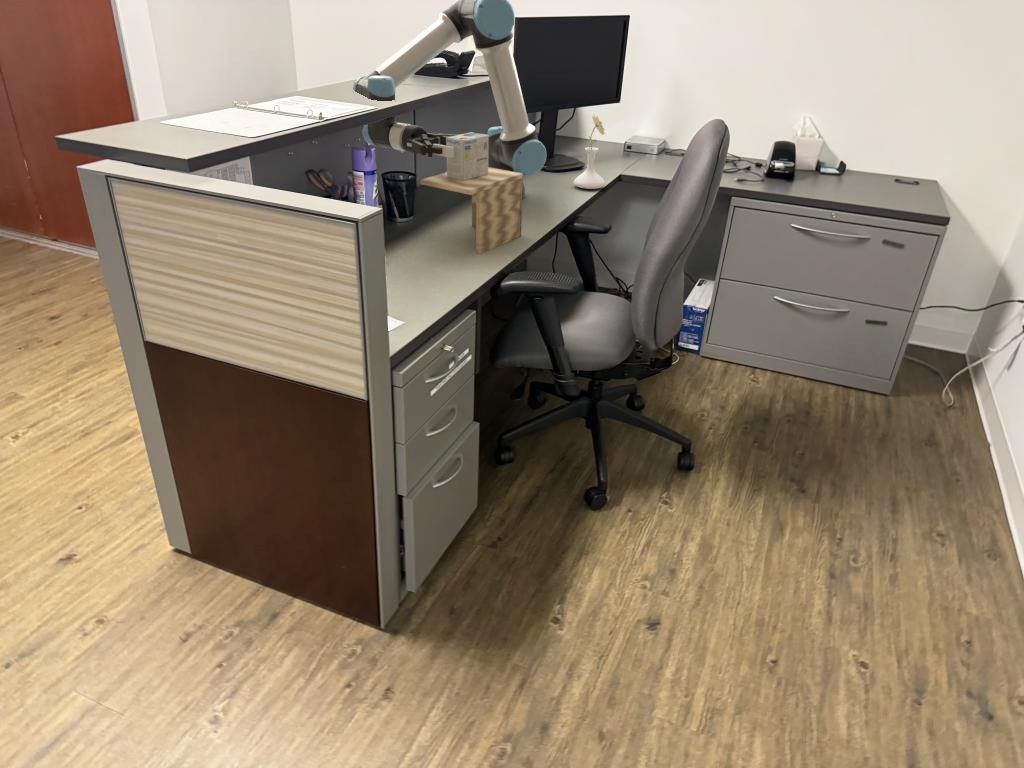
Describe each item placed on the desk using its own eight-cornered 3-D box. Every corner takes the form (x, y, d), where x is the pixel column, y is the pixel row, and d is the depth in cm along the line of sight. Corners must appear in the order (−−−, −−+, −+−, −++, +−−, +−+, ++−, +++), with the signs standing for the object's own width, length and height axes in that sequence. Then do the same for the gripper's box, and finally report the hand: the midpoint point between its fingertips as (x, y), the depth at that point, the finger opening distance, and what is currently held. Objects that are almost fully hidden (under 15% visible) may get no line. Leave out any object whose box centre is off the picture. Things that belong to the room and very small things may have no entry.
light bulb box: (471, 170, 214) (471, 131, 209) (489, 174, 211) (489, 134, 205) (445, 177, 207) (444, 136, 202) (463, 181, 203) (463, 140, 198)
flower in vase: (603, 192, 268) (610, 119, 256) (572, 190, 269) (576, 117, 257) (605, 183, 279) (611, 113, 267) (575, 181, 281) (579, 111, 269)
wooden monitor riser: (474, 225, 230) (474, 164, 221) (521, 235, 221) (522, 173, 213) (422, 244, 212) (420, 179, 203) (470, 257, 204) (470, 190, 195)
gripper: (437, 145, 226) (494, 155, 216) (379, 159, 208) (439, 170, 198) (436, 119, 223) (495, 128, 212) (378, 130, 204) (439, 141, 194)
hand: (468, 148), depth 205 cm, fingers open, 13 cm apart
